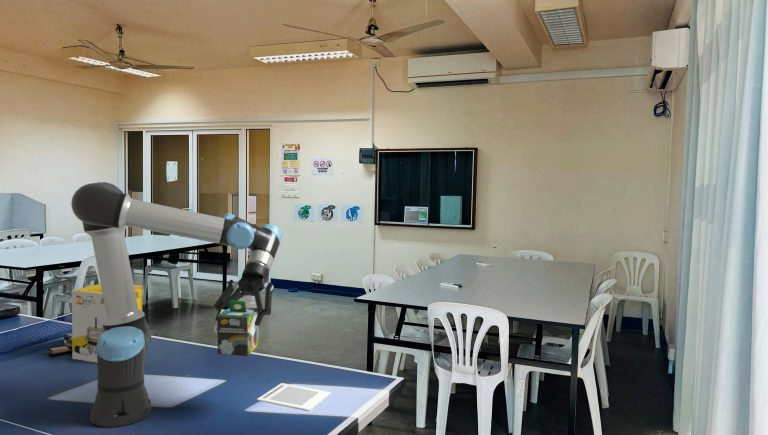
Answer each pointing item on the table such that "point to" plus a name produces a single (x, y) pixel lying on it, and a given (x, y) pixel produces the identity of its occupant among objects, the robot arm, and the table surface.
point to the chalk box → (236, 330)
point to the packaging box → (90, 320)
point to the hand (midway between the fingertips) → (233, 333)
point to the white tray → (294, 396)
